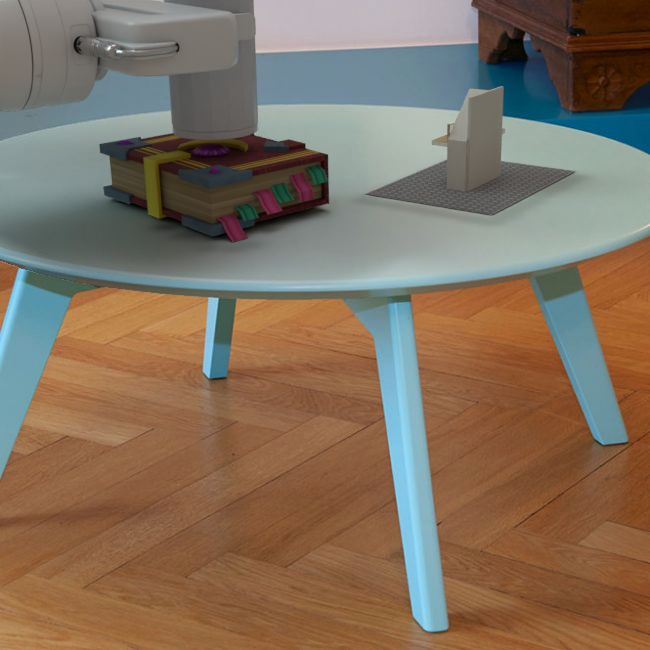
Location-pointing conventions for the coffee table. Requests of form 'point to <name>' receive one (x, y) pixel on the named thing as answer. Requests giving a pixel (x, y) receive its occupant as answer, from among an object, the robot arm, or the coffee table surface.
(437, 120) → the coffee table surface
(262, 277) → the coffee table surface
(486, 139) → the architectural model
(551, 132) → the coffee table surface
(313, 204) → the decorative book
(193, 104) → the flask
